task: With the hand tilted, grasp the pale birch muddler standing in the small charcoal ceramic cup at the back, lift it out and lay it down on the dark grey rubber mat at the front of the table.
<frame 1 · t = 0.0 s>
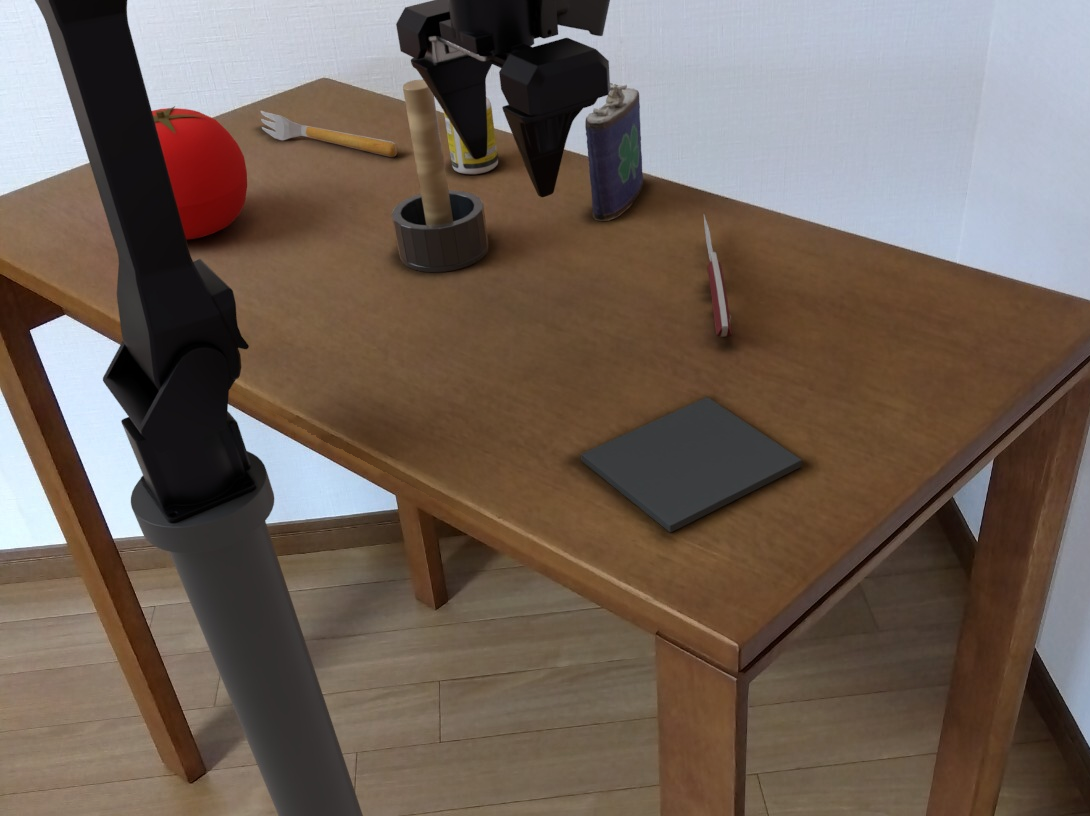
hand: (511, 175, 83), 13 cm above the table, tool pointing down, fingers open, 9 cm apart
supplement bottle: (475, 168, 117), on the table
cup: (444, 251, 103), on the table
mat: (690, 464, 77), on the table
tomato: (194, 230, 110), on the table
flask: (619, 202, 109), on the table
knife: (713, 288, 95), on the table
muddler: (431, 169, 98), in the cup
fork: (326, 145, 124), on the table
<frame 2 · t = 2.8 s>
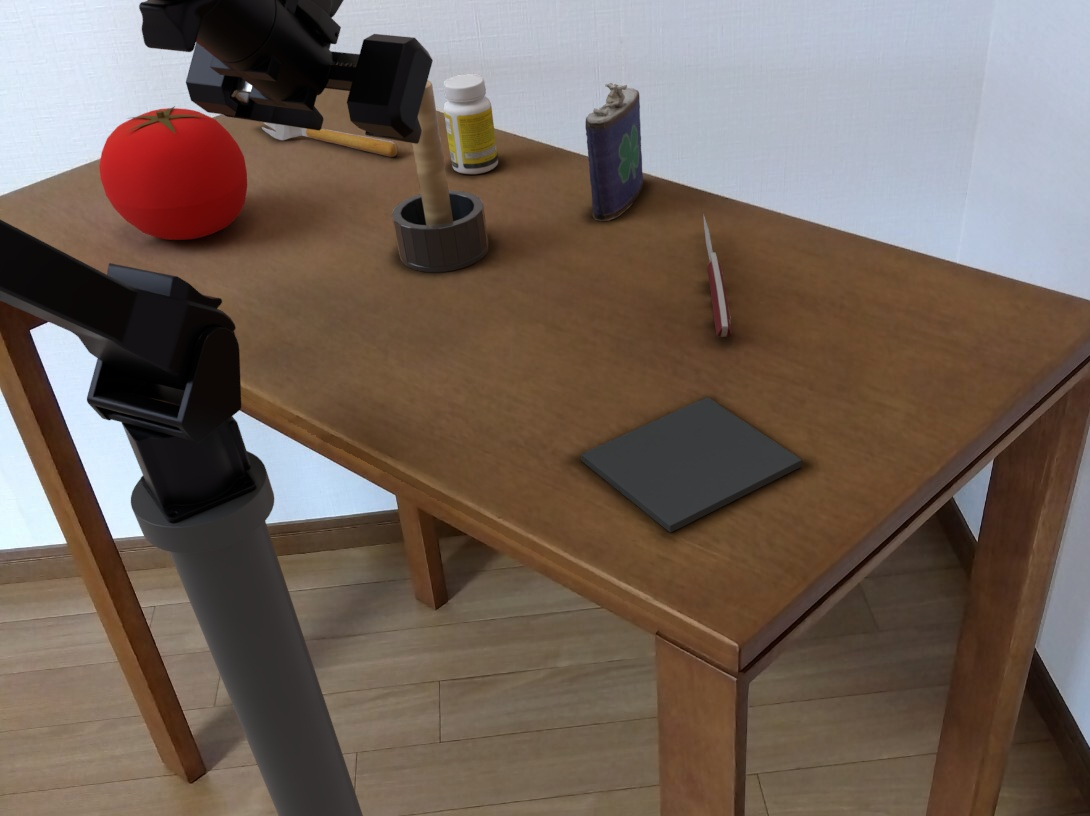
hand: (368, 130, 89), 13 cm above the table, tool tilted 45°, fingers open, 9 cm apart
nothing on the table moved.
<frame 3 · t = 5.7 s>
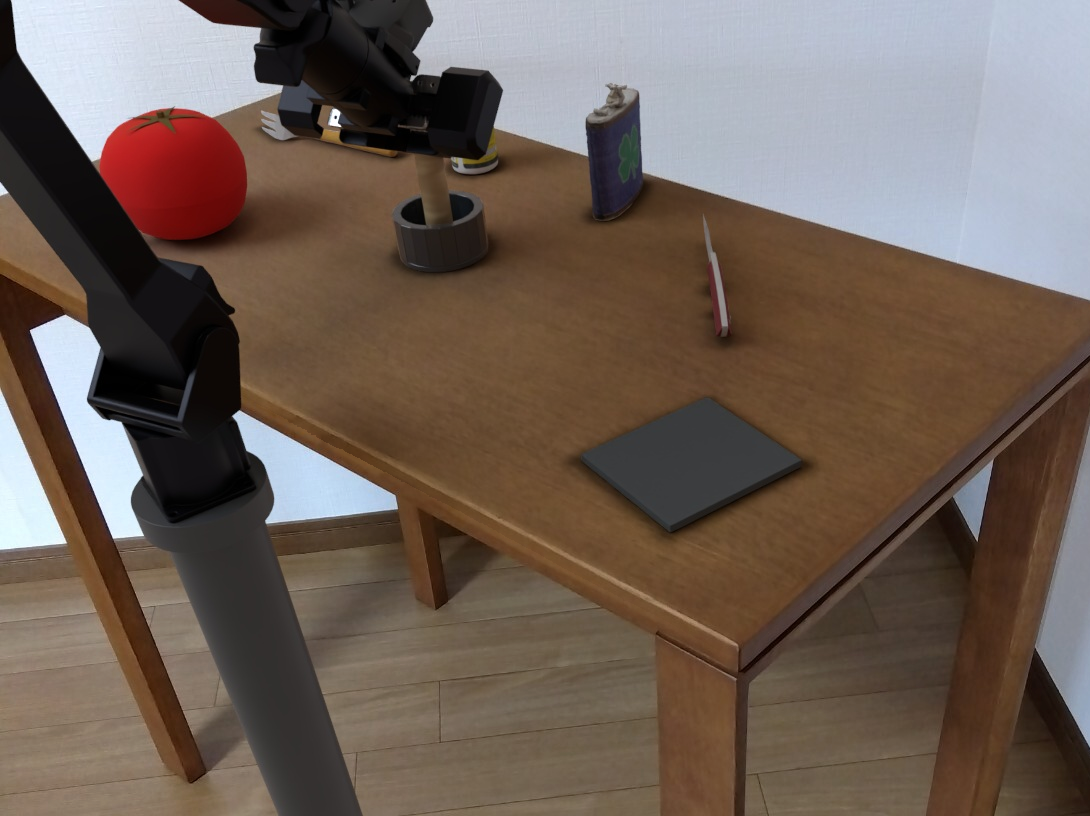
hand: (437, 150, 98), 9 cm above the table, tool tilted 45°, fingers closed on muddler, 2 cm apart
muddler: (430, 169, 98), in the cup, touching gripper
everything else where it was.
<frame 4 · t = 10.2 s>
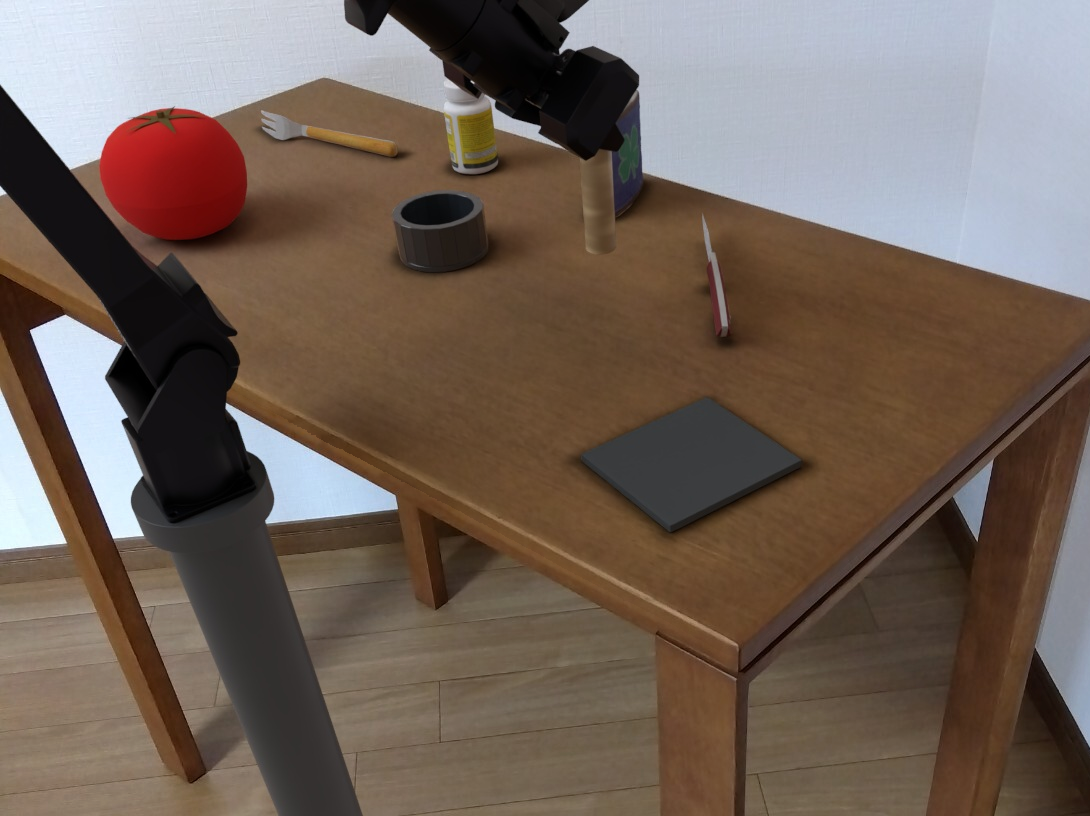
hand: (610, 140, 84), 13 cm above the table, tool tilted 45°, fingers closed on muddler, 2 cm apart
muddler: (595, 159, 85), point 12 cm above the table, touching gripper
everything else where it was.
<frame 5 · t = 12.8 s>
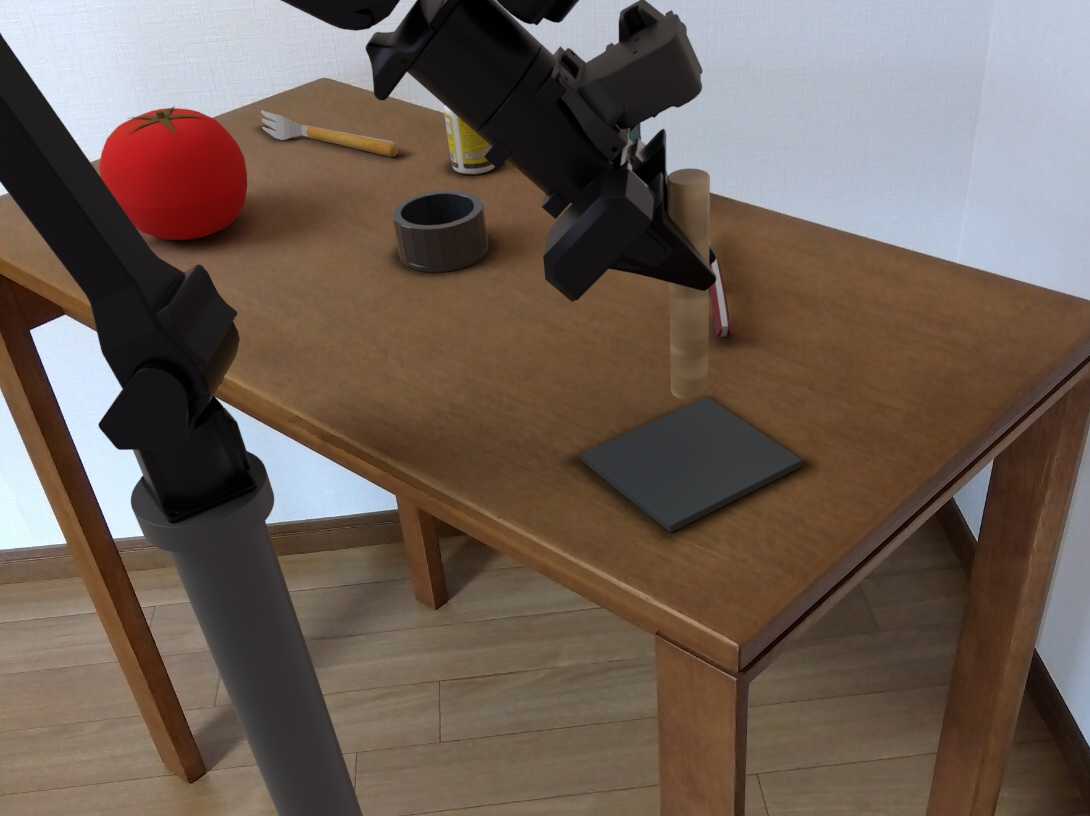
hand: (711, 273, 68), 13 cm above the table, tool tilted 45°, fingers closed on muddler, 2 cm apart
muddler: (689, 290, 69), point 12 cm above the table, touching gripper
everything else where it was.
when the fingers open (9 cm above the table, at t = 14.8 s): muddler stays where it is, resting on mat.
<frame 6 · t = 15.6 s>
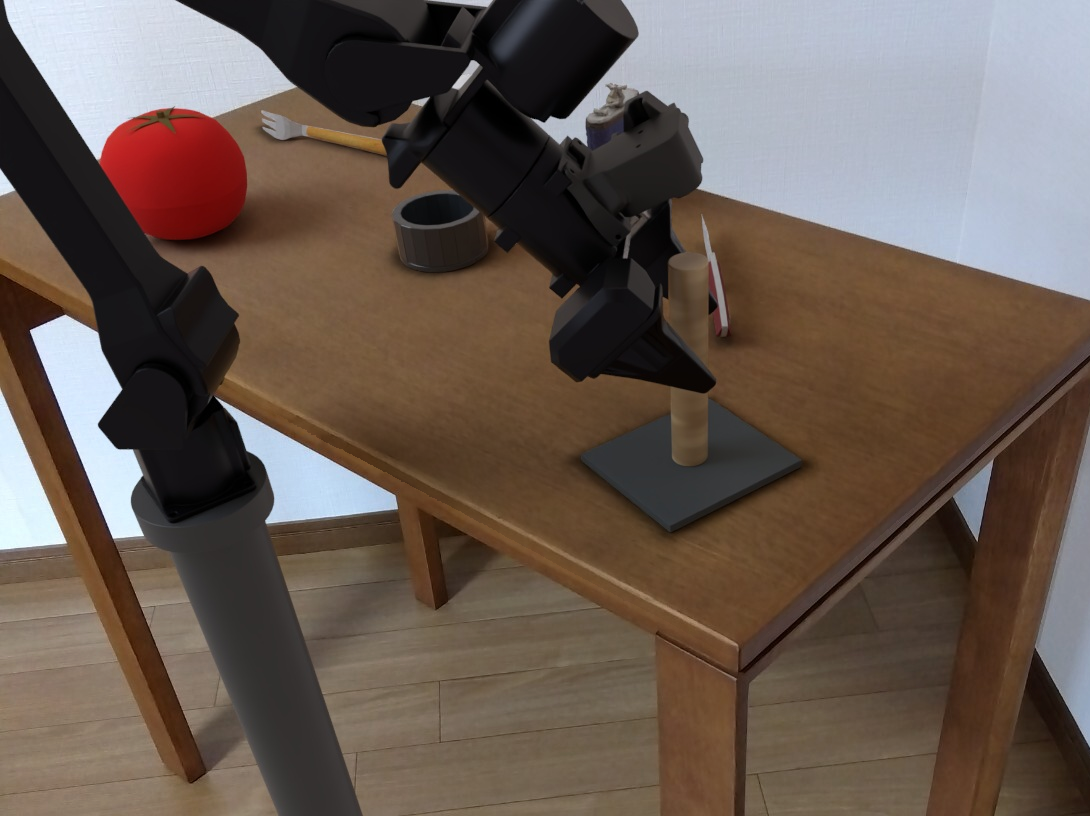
hand: (712, 347, 71), 9 cm above the table, tool tilted 45°, fingers open, 9 cm apart
muddler: (689, 365, 72), on the mat, point 8 cm above the table
everything else where it was.
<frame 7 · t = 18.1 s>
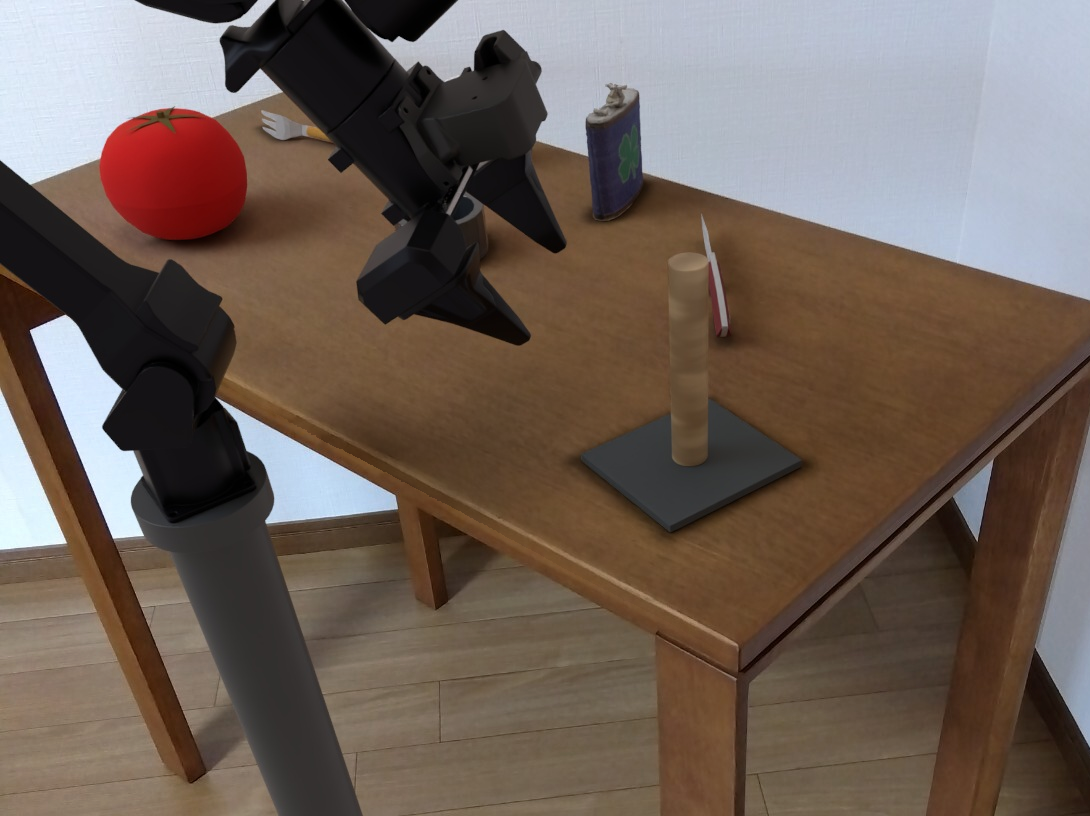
hand: (544, 293, 72), 11 cm above the table, tool tilted 35°, fingers open, 9 cm apart
nothing on the table moved.
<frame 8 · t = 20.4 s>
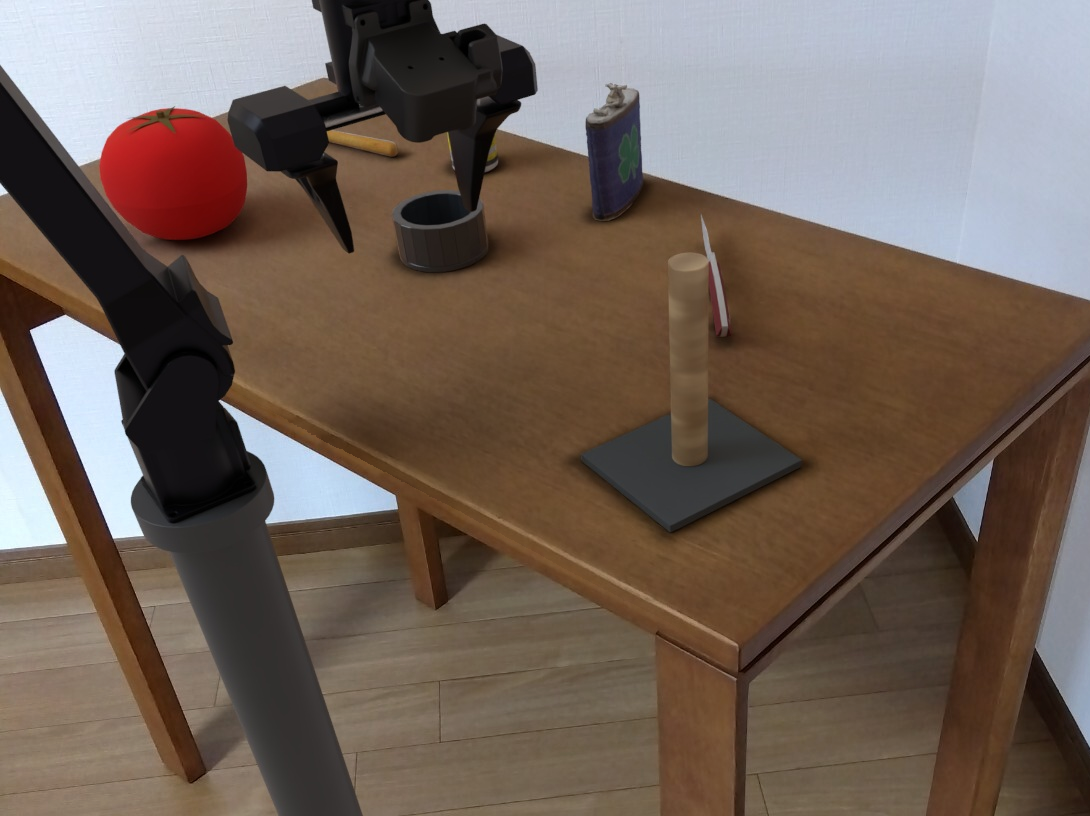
hand: (411, 230, 76), 13 cm above the table, tool pointing down, fingers open, 9 cm apart
nothing on the table moved.
at the end: muddler inside the target area on the mat (0.0 cm from its centre), point 7.6 cm above the mat's base; muddler touching mat; the gripper is holding nothing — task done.
